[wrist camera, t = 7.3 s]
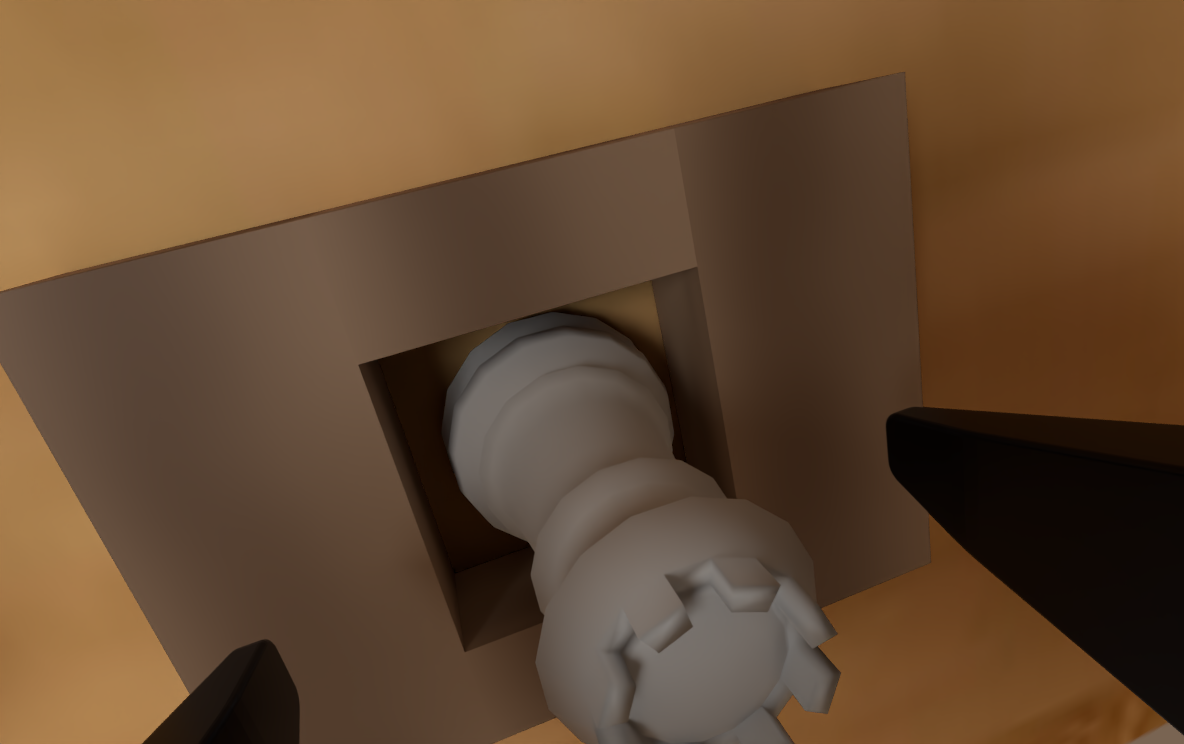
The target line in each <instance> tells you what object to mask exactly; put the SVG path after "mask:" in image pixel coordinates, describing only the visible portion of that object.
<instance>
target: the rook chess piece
mask: <svg viewBox="0 0 1184 744" xmlns="http://www.w3.org/2000/svg"><path fill="white" fill-rule="evenodd" d="M441 434H442V437H443V441H444V444H445V447H446V450H447V454H448V457H449V460H450V464H451V467H452V470H453V473H454V474H455V476H456V479H457V482H458V486H459V489H460V491H461V492H462V493H463V495H464V496H465V497H466V498H467V499H468V500H469V501H470V502H471V503H472V504H473V506H474V507H475V508H476V509H477V510H478V511H479V512H480V513H481V514H482V515H483V517H484V518H485V519H486V520H487V521H488V522H489V523H490V524H491V525H492V526H493V527H495V528H497V529H499V530H502V531H504V532H506V533H509V534H511V535H513V536H515V537H518V538H520V539H522V540H525V541H527V542H529V544H530V545H531V547H532V549H533V550H534V552H535V554H534V559H533V565H532V570H531V579H532V582H533V586H534V590H535V593H536V597H537V601H538V604H539V608H540V611H541V612H542V613H543V614H544V620H543V625H542V630H541V636H540V641H539V646H538V651H537V656H536V661H535V663H536V667H537V670H538V674H539V677H540V681H541V684H542V688H543V691H544V695H545V698H546V702H547V705H548V709H549V710H550V711H551V712H552V713H553V714H554V715H555V716H556V717H557V718H558V719H559V720H560V721H561V722H562V723H563V724H564V725H565V726H566V727H567V728H568V729H569V730H570V731H571V732H572V733H573V734H574V735H575V736H576V737H577V738H578V739H579V740H580V741H582V742H584V743H586V744H794V742H793V741H792V739H791V738H790V736H789V735H788V733H787V732H786V731H785V729H784V728H783V726H782V725H781V723H780V722H779V720H778V719H777V716H778V714H779V713H780V712H781V710H782V709H783V707H784V706H785V705H786V703H787V702H788V700H789V699H790V698H791V696H792V695H794V696H795V698H796V699H797V700H798V702H799V703H800V704H801V706H802V707H803V708H804V710H805V711H810V712H817V713H825V714H828V711H829V708H830V705H831V702H832V699H833V696H834V693H835V690H836V686H837V683H838V680H839V677H840V674H841V672H840V671H839V670H838V669H837V668H836V667H835V666H834V665H833V663H832V662H831V661H830V660H829V659H828V658H827V657H826V655H825V654H824V653H823V652H822V651H821V650H820V649H819V647H818V645H820V644H822V643H823V642H825V641H827V640H828V639H830V638H832V637H834V636H835V635H837V632H836V631H835V629H834V628H833V626H832V625H831V623H830V622H829V620H828V619H827V617H826V616H825V614H824V613H823V611H822V610H821V608H820V607H819V605H818V604H817V599H816V588H815V578H814V567H813V560H812V558H811V557H810V555H809V554H808V552H807V551H806V549H805V547H804V546H803V544H802V543H801V541H800V540H799V538H798V537H797V535H796V533H795V532H794V530H793V529H792V527H791V526H790V524H789V523H788V522H786V521H785V520H783V519H781V518H779V517H777V516H775V515H774V514H772V513H770V512H768V511H766V510H764V509H763V508H761V507H759V506H757V505H755V504H753V503H752V502H750V501H748V500H746V499H727V498H726V496H725V495H724V493H723V492H722V490H721V489H720V487H719V486H718V484H717V483H716V481H715V480H714V479H713V478H712V477H711V476H709V475H707V474H705V473H703V472H701V471H700V470H698V469H696V468H694V467H692V466H690V465H689V464H687V463H685V462H683V461H681V460H676V459H675V457H674V455H673V454H672V451H673V449H672V441H673V437H674V429H673V423H672V417H671V411H670V405H669V399H668V394H667V391H666V388H665V386H664V384H663V383H662V381H661V380H660V378H659V377H658V375H657V374H656V372H655V371H654V369H653V368H652V366H651V365H650V363H649V362H648V360H647V359H646V357H645V356H644V354H643V353H642V352H640V351H639V350H637V349H636V347H635V346H634V344H633V343H632V341H631V340H630V339H629V338H627V337H626V336H624V335H622V334H621V333H619V332H618V331H616V330H614V329H613V328H611V327H609V326H608V325H606V324H605V323H603V322H601V321H600V320H598V319H596V318H592V317H585V316H578V315H571V314H564V313H557V312H550V313H546V314H543V315H539V316H535V317H531V318H527V319H523V320H520V321H516V322H512V323H508V324H507V325H505V326H504V327H503V328H501V329H500V330H499V331H497V332H496V333H495V334H493V335H492V336H491V337H489V338H488V339H486V340H485V341H484V342H482V343H481V344H480V345H478V346H477V347H476V348H474V349H473V350H472V351H471V352H470V353H469V355H468V357H467V358H466V360H465V361H464V363H463V365H462V366H461V368H460V370H459V371H458V373H457V375H456V376H455V378H454V380H453V381H452V383H451V384H450V386H449V388H448V389H447V395H446V402H445V409H444V416H443V424H442V431H441Z"/></svg>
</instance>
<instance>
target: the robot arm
mask: <svg viewBox="0 0 1184 744" xmlns="http://www.w3.org/2000/svg"><path fill="white" fill-rule="evenodd" d="M886 439H887V452H888V463H889V467H890V470H891V472H892V474H893V476H894V477H895V479H896V480H897V481H898V482H899V483H900V484H901V485H902V486H903V487H904V488H905V489H906V490H907V491H908V492H909V493H910V494H911V495H912V496H913V497H914V498H915V499H916V500H917V501H918V503H919V504H920V505H921V506H922V507H923V508H924V509H925V510H926V511H927V512H928V513H929V514H930V515H931V516H932V517H933V518H934V519H935V520H936V521H937V522H938V523H939V524H940V525H941V526H942V527H943V528H944V529H945V530H946V531H947V532H948V533H949V534H950V535H951V536H952V537H953V538H954V539H955V540H956V541H957V542H958V543H959V544H960V545H961V546H962V547H963V548H964V549H965V550H966V551H967V552H968V553H969V554H970V555H972V556H973V557H974V558H975V559H976V560H977V561H978V562H979V563H981V564H982V565H983V566H984V567H985V568H987V569H988V570H989V571H990V572H991V573H992V574H994V575H995V576H996V577H997V578H998V579H1000V580H1001V581H1002V582H1003V583H1004V584H1005V585H1007V586H1008V587H1009V588H1010V589H1011V590H1013V591H1014V592H1015V593H1016V594H1017V595H1018V596H1020V597H1021V598H1022V599H1023V600H1024V601H1026V602H1027V603H1028V604H1029V605H1030V606H1031V607H1033V608H1034V609H1035V610H1036V611H1037V612H1039V613H1040V614H1041V615H1042V616H1043V617H1044V618H1046V619H1047V620H1048V621H1049V622H1050V623H1052V624H1053V625H1054V626H1055V627H1056V628H1057V629H1059V630H1060V631H1061V632H1062V633H1063V634H1064V635H1066V636H1067V637H1068V638H1069V639H1070V640H1072V641H1073V642H1074V643H1075V644H1076V645H1077V646H1079V647H1080V648H1081V649H1082V650H1083V651H1085V652H1086V653H1087V654H1088V655H1089V656H1090V657H1092V658H1093V659H1094V660H1095V661H1096V662H1098V663H1099V664H1100V665H1101V666H1102V667H1103V668H1105V669H1106V670H1107V671H1108V672H1109V673H1111V674H1112V675H1113V676H1114V677H1115V678H1116V679H1118V680H1119V681H1120V682H1121V683H1122V684H1124V685H1125V686H1126V687H1127V688H1128V689H1129V690H1131V691H1132V692H1133V693H1134V694H1135V695H1137V696H1138V697H1139V698H1140V699H1141V700H1142V701H1144V702H1145V703H1146V704H1147V705H1148V706H1150V707H1151V708H1152V709H1153V710H1154V711H1155V712H1157V713H1158V714H1159V715H1160V716H1161V717H1163V718H1164V719H1165V720H1166V721H1167V722H1168V723H1170V724H1171V725H1172V726H1173V727H1174V728H1176V729H1177V730H1178V731H1179V732H1180V733H1182V734H1183V735H1184V425H1170V424H1156V423H1142V422H1128V421H1113V420H1099V419H1085V418H1071V417H1057V416H1043V415H1029V414H1015V413H1000V412H986V411H972V410H958V409H944V408H930V407H909V408H906V409H903V410H901V411H898V412H895V413H893V414H891V415H890V416H889V417H888V418H887V420H886ZM142 744H300V701H299V695H298V691H297V688H296V686H295V684H294V682H293V680H292V678H291V676H290V674H289V672H288V670H287V668H286V666H285V664H284V662H283V660H282V658H281V656H280V654H279V652H278V650H277V648H276V646H275V645H274V644H273V642H272V641H270V640H268V639H263V640H260V641H257V642H254V643H251V644H248V645H246V646H243V647H240V648H237V649H235V650H234V651H232V652H231V653H230V654H229V655H228V656H227V657H226V658H225V659H224V660H223V661H222V662H221V663H220V664H219V665H218V666H217V667H216V668H215V669H214V670H213V672H212V673H211V674H210V675H209V676H208V677H207V678H206V679H205V680H204V681H203V682H202V683H201V684H200V685H199V686H198V687H197V688H196V689H195V690H194V691H193V692H192V693H191V694H190V695H189V696H188V697H187V698H186V699H185V700H184V701H183V702H182V703H181V704H180V705H179V706H178V707H177V708H176V709H175V710H174V711H173V712H172V713H171V714H170V716H169V717H168V718H167V719H166V720H165V721H164V722H163V723H162V724H161V725H160V726H159V727H158V728H157V729H156V730H155V731H154V732H153V733H152V734H151V735H150V736H149V737H148V738H147V739H146V740H145V741H144V742H143V743H142Z"/></svg>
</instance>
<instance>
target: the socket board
mask: <svg viewBox="0 0 1184 744" xmlns="http://www.w3.org/2000/svg"><path fill="white" fill-rule="evenodd" d="M649 280H651V281H652V286H653V292H654V297H655V302H656V307H657V312H658V317H659V322H660V327H661V332H662V338H663V343H664V348H665V353H666V358H667V363H668V368H669V373H670V378H671V383H672V389H673V394H674V399H675V404H676V409H677V414H678V419H679V424H680V429H681V435H682V440H683V445H684V450H685V455H686V460H687V464H689V465H690V466H692V467H694V468H696V469H698V470H700V471H701V472H703V473H705V474H707V475H709V476H711V477H712V478H713V479H714V480H715V481H716V483H717V484H718V486H719V487H720V489H721V490H722V492H723V493H724V495H725V496H726V498H727V499H746V500H748V501H750V502H752V503H753V504H755V505H757V506H759V507H761V508H763V509H764V510H766V511H768V512H770V513H772V514H774V515H775V516H777V517H779V518H781V519H783V520H785V521H786V522H788V523H789V524H790V526H791V527H792V529H793V530H794V532H795V533H796V535H797V537H798V538H799V540H800V541H801V543H802V544H803V546H804V547H805V549H806V551H807V552H808V554H809V555H810V557H811V558H812V560H813V567H814V578H815V588H816V599H817V604H818V605H819V607H820V608H822V607H825V606H827V605H830V604H832V603H835V602H837V601H839V600H842V599H844V598H847V597H849V596H852V595H854V594H856V593H859V592H861V591H864V590H866V589H868V588H871V587H873V586H876V585H878V584H881V583H883V582H885V581H888V580H890V579H893V578H895V577H898V576H900V575H902V574H905V573H907V572H910V571H912V570H915V569H917V568H919V567H922V566H924V565H927V564H929V563H931V552H930V533H929V514H928V512H927V511H926V510H925V509H924V508H923V507H922V506H921V505H920V504H919V503H918V501H917V500H916V499H915V498H914V497H913V496H912V495H911V494H910V493H909V492H908V491H907V490H906V489H905V488H904V487H903V486H902V485H901V484H900V483H899V482H898V481H897V480H896V479H895V477H894V476H893V474H892V472H891V470H890V467H889V463H888V452H887V439H886V420H887V418H888V417H889V416H890V415H891V414H893V413H895V412H898V411H901V410H903V409H906V408H909V407H923V401H922V383H921V364H920V345H919V326H918V307H917V289H916V270H915V251H914V232H913V213H912V194H911V176H910V157H909V138H908V119H907V100H906V82H905V72H901V73H897V74H892V75H887V76H882V77H878V78H873V79H868V80H863V81H859V82H854V83H849V84H844V85H840V86H835V87H830V88H825V89H821V90H816V91H812V92H808V93H804V94H799V95H795V96H791V97H787V98H783V99H779V100H775V101H771V102H767V103H763V104H758V105H754V106H750V107H746V108H742V109H738V110H734V111H730V112H726V113H721V114H717V115H713V116H709V117H705V118H701V119H697V120H693V121H689V122H685V123H680V124H676V125H672V126H668V127H664V128H660V129H656V130H652V131H648V132H643V133H639V134H635V135H631V136H627V137H623V138H619V139H615V140H611V141H607V142H602V143H598V144H594V145H590V146H586V147H582V148H578V149H574V150H570V151H565V152H561V153H557V154H553V155H549V156H545V157H541V158H537V159H533V160H529V161H524V162H520V163H516V164H512V165H508V166H504V167H500V168H496V169H492V170H487V171H483V172H479V173H475V174H471V175H467V176H463V177H459V178H455V179H451V180H446V181H442V182H438V183H434V184H430V185H426V186H422V187H418V188H414V189H409V190H405V191H401V192H397V193H393V194H389V195H385V196H381V197H377V198H373V199H368V200H364V201H360V202H356V203H352V204H348V205H344V206H340V207H336V208H331V209H327V210H323V211H319V212H315V213H311V214H307V215H303V216H299V217H294V218H290V219H286V220H282V221H278V222H274V223H270V224H266V225H262V226H258V227H253V228H249V229H245V230H241V231H237V232H233V233H229V234H225V235H221V236H216V237H212V238H208V239H204V240H200V241H196V242H192V243H188V244H184V245H180V246H175V247H171V248H167V249H163V250H159V251H155V252H151V253H147V254H143V255H138V256H134V257H130V258H126V259H122V260H118V261H114V262H110V263H106V264H102V265H97V266H93V267H89V268H85V269H81V270H77V271H73V272H69V273H65V274H61V275H57V276H54V277H50V278H46V279H43V280H39V281H36V282H32V283H29V284H25V285H22V286H18V287H15V288H11V289H8V290H4V291H1V292H0V363H1V365H2V367H3V368H4V370H5V372H6V374H7V375H8V377H9V379H10V381H11V382H12V384H13V386H14V388H15V389H16V391H17V393H18V395H19V396H20V398H21V400H22V402H23V403H24V405H25V407H26V409H27V410H28V412H29V414H30V416H31V417H32V419H33V421H34V423H35V424H36V426H37V428H38V430H39V431H40V433H41V435H42V437H43V438H44V440H45V442H46V444H47V445H48V447H49V449H50V451H51V452H52V454H53V456H54V458H55V459H56V461H57V463H58V465H59V466H60V468H61V470H62V472H63V473H64V475H65V477H66V479H67V480H68V482H69V484H70V486H71V487H72V489H73V491H74V493H75V494H76V496H77V498H78V500H79V501H80V503H81V505H82V507H83V508H84V510H85V512H86V514H87V515H88V517H89V519H90V521H91V522H92V524H93V526H94V527H95V529H96V531H97V533H98V534H99V536H100V538H101V540H102V541H103V543H104V545H105V547H106V548H107V550H108V552H109V554H110V555H111V557H112V559H113V561H114V562H115V564H116V566H117V568H118V569H119V571H120V573H121V575H122V576H123V578H124V580H125V582H126V583H127V585H128V587H129V589H130V590H131V592H132V594H133V596H134V597H135V599H136V601H137V603H138V604H139V606H140V608H141V610H142V611H143V613H144V615H145V617H146V618H147V620H148V622H149V624H150V625H151V627H152V629H153V631H154V632H155V634H156V636H157V638H158V639H159V641H160V643H161V645H162V646H163V648H164V650H165V652H166V653H167V655H168V657H169V659H170V660H171V662H172V664H173V666H174V667H175V669H176V671H177V673H178V674H179V676H180V678H181V680H182V681H183V683H184V685H185V687H186V688H187V690H188V692H189V694H191V693H192V692H193V691H194V690H195V689H196V688H197V687H198V686H199V685H200V684H201V683H202V682H203V681H204V680H205V679H206V678H207V677H208V676H209V675H210V674H211V673H212V672H213V670H214V669H215V668H216V667H217V666H218V665H219V664H220V663H221V662H222V661H223V660H224V659H225V658H226V657H227V656H228V655H229V654H230V653H231V652H232V651H234V650H235V649H237V648H240V647H243V646H246V645H248V644H251V643H254V642H257V641H260V640H263V639H268V640H270V641H272V642H273V644H274V645H275V646H276V648H277V650H278V652H279V654H280V656H281V658H282V660H283V662H284V664H285V666H286V668H287V670H288V672H289V674H290V676H291V678H292V680H293V682H294V684H295V686H296V688H297V691H298V695H299V701H300V744H493V743H495V742H498V741H500V740H502V739H505V738H507V737H510V736H512V735H515V734H517V733H519V732H522V731H524V730H527V729H529V728H532V727H534V726H536V725H539V724H541V723H544V722H546V721H549V720H551V719H553V718H556V716H555V715H554V714H553V713H552V712H551V711H550V710H549V709H548V705H547V702H546V698H545V695H544V691H543V688H542V684H541V681H540V677H539V674H538V670H537V667H536V663H535V661H536V656H537V651H538V646H539V641H540V636H541V630H542V625H543V620H544V614H543V613H542V612H541V611H540V608H539V604H538V601H537V597H536V593H535V590H534V586H533V582H532V579H531V570H532V565H533V559H534V554H535V552H534V550H533V549H532V547H528V548H525V549H522V550H520V551H517V552H514V553H511V554H509V555H506V556H503V557H500V558H497V559H495V560H492V561H489V562H486V563H483V564H481V565H478V566H475V567H472V568H470V569H467V570H464V571H461V572H458V573H456V574H454V571H453V568H452V566H451V563H450V560H449V557H448V554H447V552H446V549H445V546H444V543H443V540H442V538H441V535H440V532H439V529H438V527H437V524H436V521H435V518H434V515H433V513H432V510H431V507H430V504H429V501H428V499H427V496H426V493H425V490H424V487H423V485H422V482H421V479H420V476H419V474H418V471H417V468H416V465H415V462H414V460H413V457H412V454H411V451H410V448H409V446H408V443H407V440H406V437H405V434H404V432H403V429H402V426H401V423H400V421H399V418H398V415H397V412H396V409H395V407H394V404H393V401H392V398H391V395H390V393H389V390H388V387H387V384H386V382H385V379H384V376H383V373H382V370H381V368H380V365H379V362H378V359H380V358H383V357H387V356H390V355H394V354H397V353H401V352H404V351H407V350H411V349H414V348H418V347H421V346H425V345H428V344H432V343H435V342H438V341H442V340H445V339H449V338H452V337H456V336H459V335H463V334H466V333H470V332H473V331H476V330H480V329H483V328H487V327H490V326H494V325H497V324H501V323H504V322H508V321H511V320H514V319H518V318H521V317H525V316H528V315H532V314H535V313H539V312H542V311H546V310H549V309H552V308H556V307H559V306H563V305H566V304H570V303H573V302H577V301H580V300H583V299H587V298H590V297H594V296H597V295H601V294H604V293H608V292H611V291H615V290H618V289H621V288H625V287H628V286H632V285H635V284H639V283H642V282H646V281H649Z"/></svg>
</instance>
